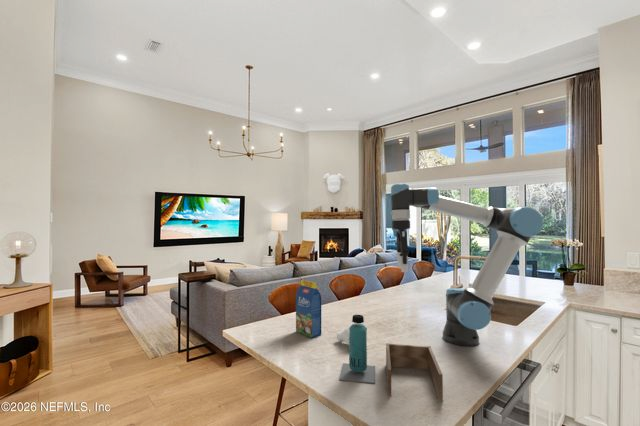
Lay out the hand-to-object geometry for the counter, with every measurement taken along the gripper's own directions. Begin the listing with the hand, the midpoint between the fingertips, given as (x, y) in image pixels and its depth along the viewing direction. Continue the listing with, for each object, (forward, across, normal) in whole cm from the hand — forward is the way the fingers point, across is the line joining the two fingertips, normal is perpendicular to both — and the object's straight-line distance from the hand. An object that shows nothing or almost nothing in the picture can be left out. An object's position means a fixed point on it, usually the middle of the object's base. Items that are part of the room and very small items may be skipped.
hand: (402, 269), depth 131 cm
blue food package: (+32, -11, -44) cm, 56 cm away
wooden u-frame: (+33, +28, -2) cm, 43 cm away
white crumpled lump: (+33, 0, -25) cm, 41 cm away
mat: (+33, +25, -20) cm, 46 cm away
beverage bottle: (+33, +25, -20) cm, 45 cm away
